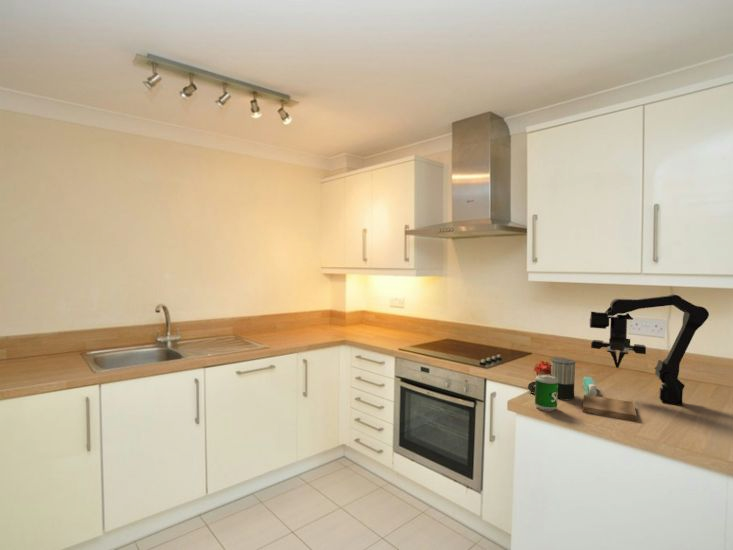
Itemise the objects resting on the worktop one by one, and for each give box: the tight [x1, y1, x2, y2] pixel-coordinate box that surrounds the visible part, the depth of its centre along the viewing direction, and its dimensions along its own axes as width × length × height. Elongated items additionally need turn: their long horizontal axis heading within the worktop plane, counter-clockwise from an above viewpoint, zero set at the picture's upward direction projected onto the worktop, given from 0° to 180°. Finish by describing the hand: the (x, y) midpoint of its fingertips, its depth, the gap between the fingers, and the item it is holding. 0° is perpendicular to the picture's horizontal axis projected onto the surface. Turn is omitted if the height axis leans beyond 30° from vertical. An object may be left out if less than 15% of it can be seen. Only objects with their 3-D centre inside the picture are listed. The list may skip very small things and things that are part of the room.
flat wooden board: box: [582, 394, 638, 422], centre depth 146 cm, size 16×16×2 cm
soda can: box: [534, 374, 558, 412], centre depth 146 cm, size 8×8×12 cm
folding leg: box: [582, 376, 598, 397], centre depth 165 cm, size 18×3×5 cm, turn 157°
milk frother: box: [527, 357, 577, 400], centre depth 162 cm, size 14×16×15 cm
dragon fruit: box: [533, 360, 551, 377], centre depth 187 cm, size 8×8×12 cm
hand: (617, 367), depth 163 cm, fingers closed
